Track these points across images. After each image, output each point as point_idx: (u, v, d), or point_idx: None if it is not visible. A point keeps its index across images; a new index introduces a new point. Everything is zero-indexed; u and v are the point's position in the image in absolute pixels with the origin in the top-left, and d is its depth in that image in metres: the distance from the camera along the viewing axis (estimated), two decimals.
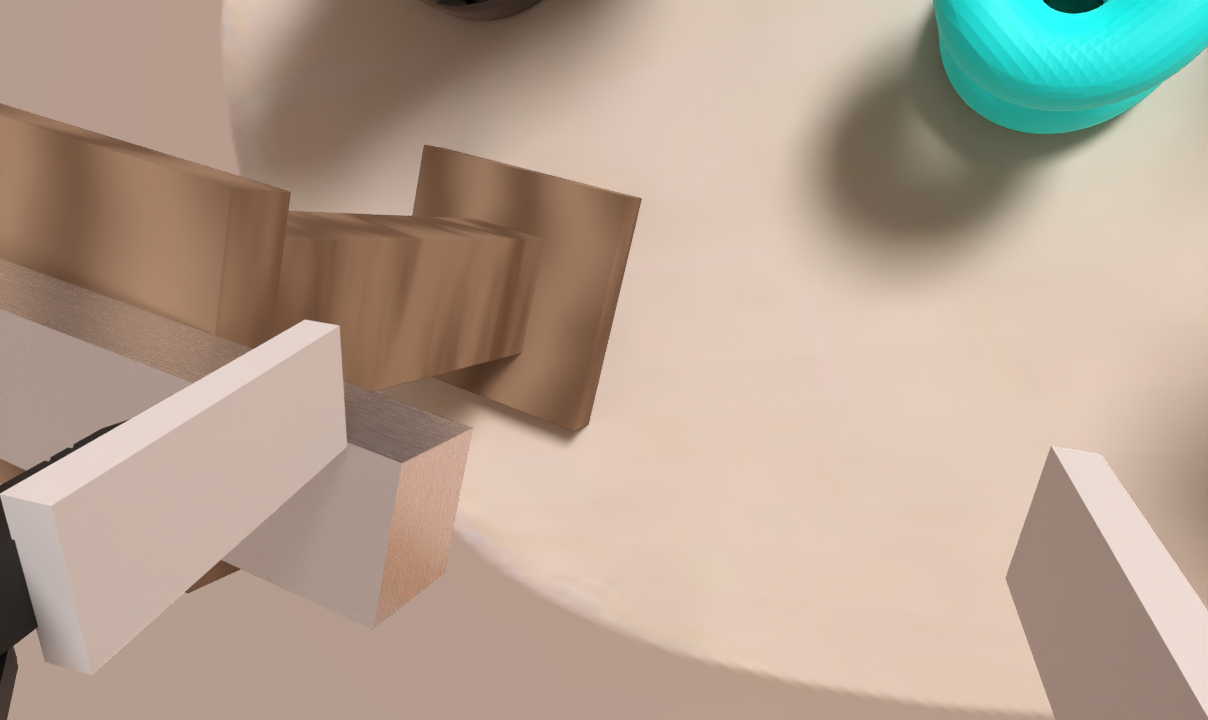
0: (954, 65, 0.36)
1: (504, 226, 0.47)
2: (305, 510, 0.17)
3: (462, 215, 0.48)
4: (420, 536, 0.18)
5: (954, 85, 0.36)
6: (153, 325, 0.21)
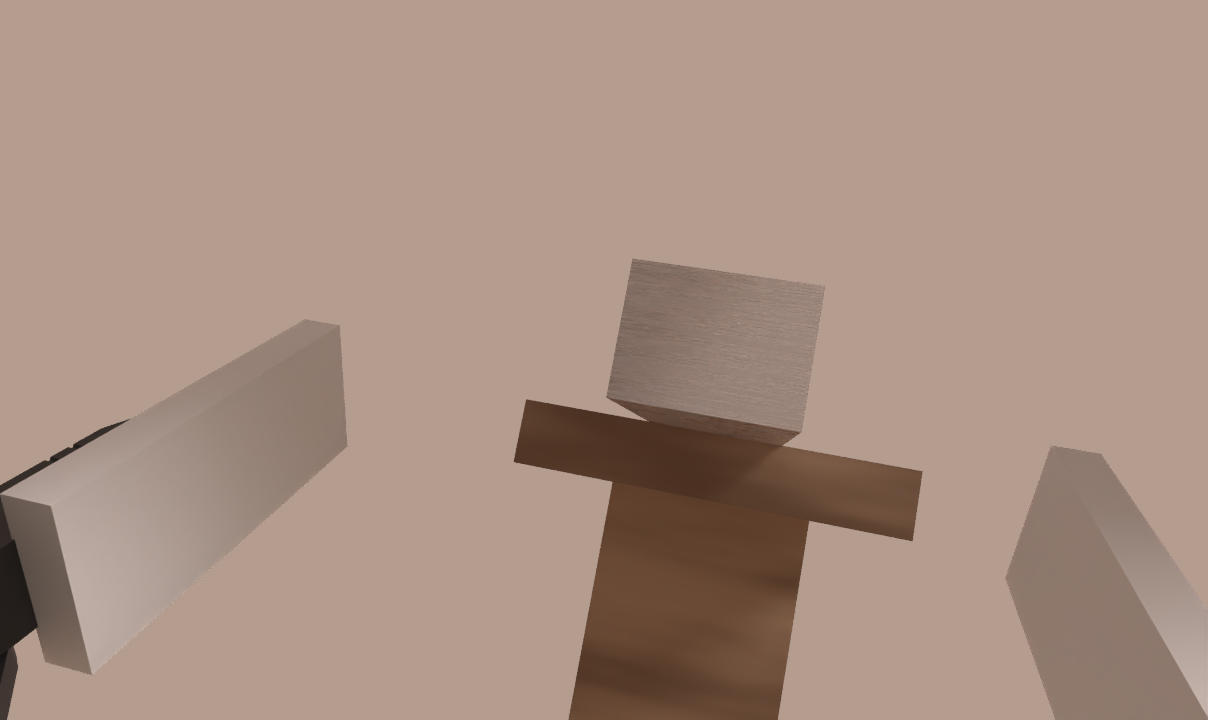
0: None
1: None
2: None
3: None
4: (701, 334, 0.16)
5: None
6: None
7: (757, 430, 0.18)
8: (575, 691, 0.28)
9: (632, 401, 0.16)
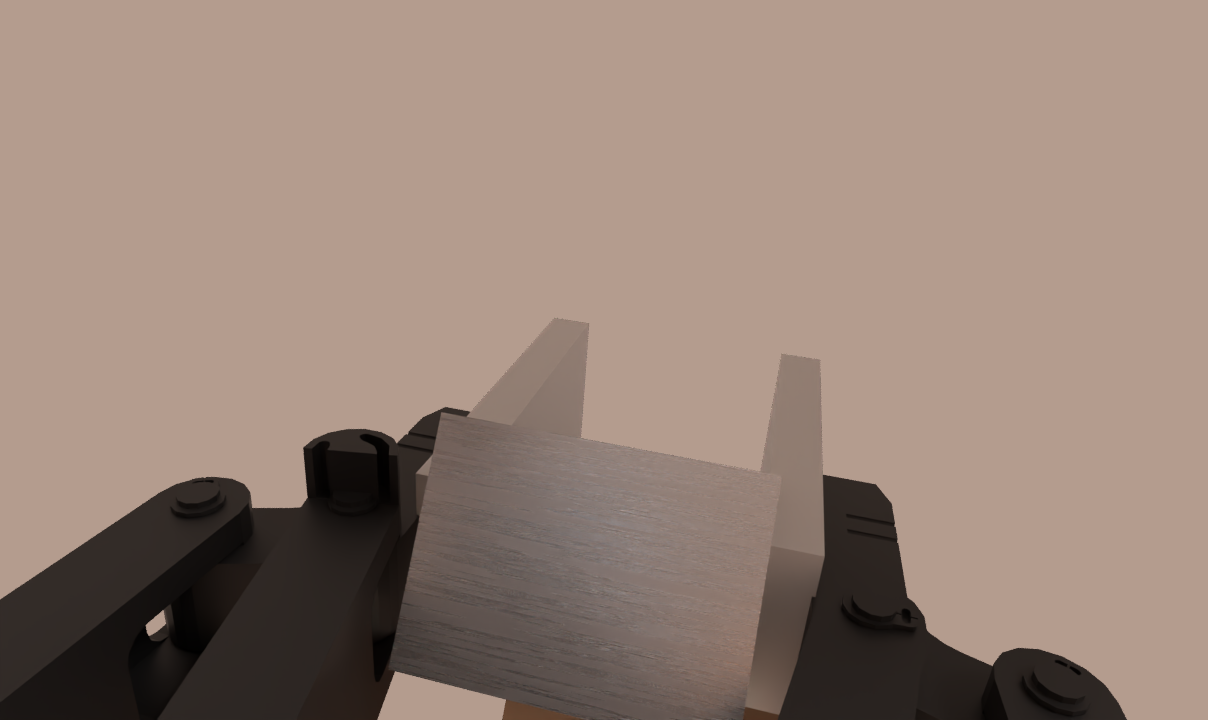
0: None
1: None
2: None
3: None
4: (557, 559, 0.09)
5: None
6: None
7: None
8: None
9: (434, 677, 0.09)
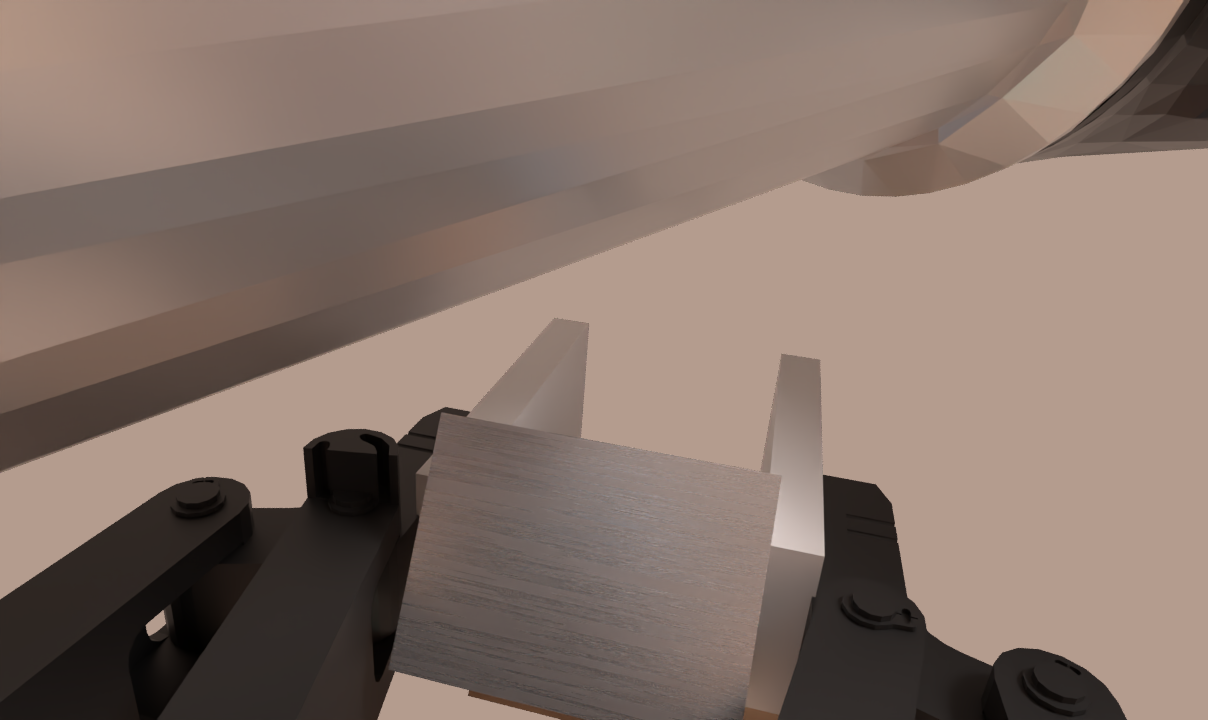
0: None
1: None
2: None
3: None
4: (558, 559, 0.09)
5: None
6: None
7: None
8: None
9: (434, 678, 0.09)
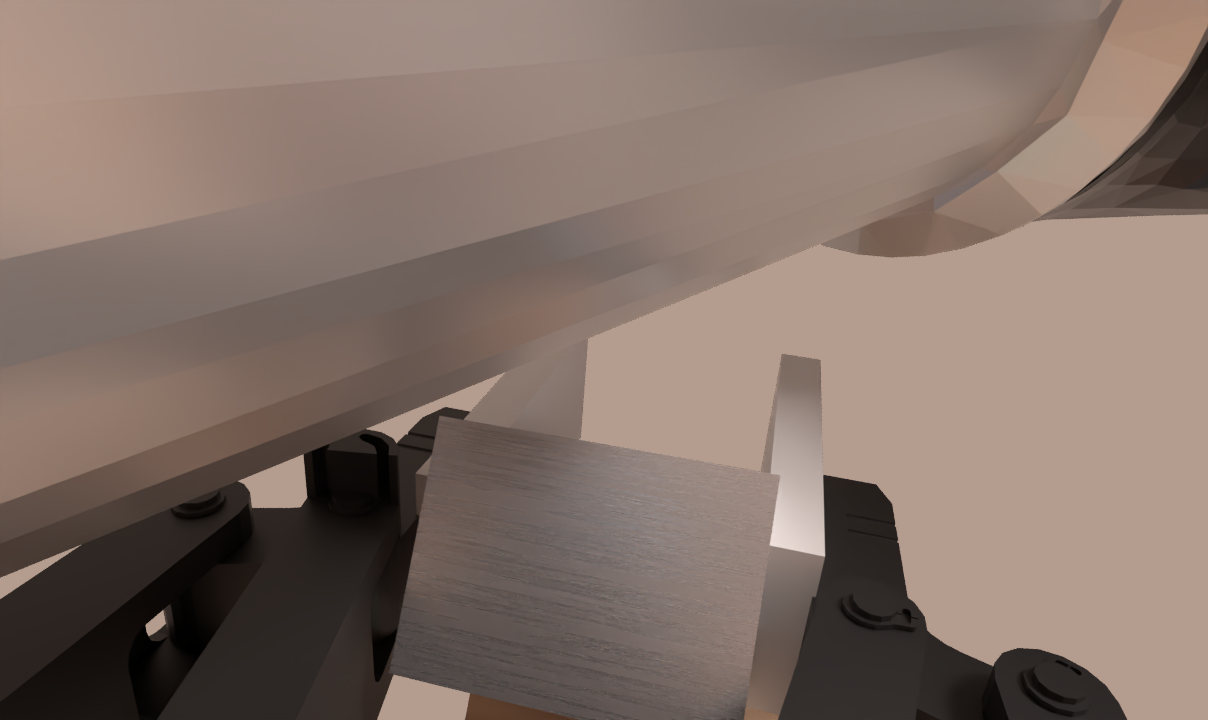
0: None
1: None
2: None
3: None
4: (557, 560, 0.09)
5: None
6: None
7: None
8: None
9: (435, 681, 0.09)
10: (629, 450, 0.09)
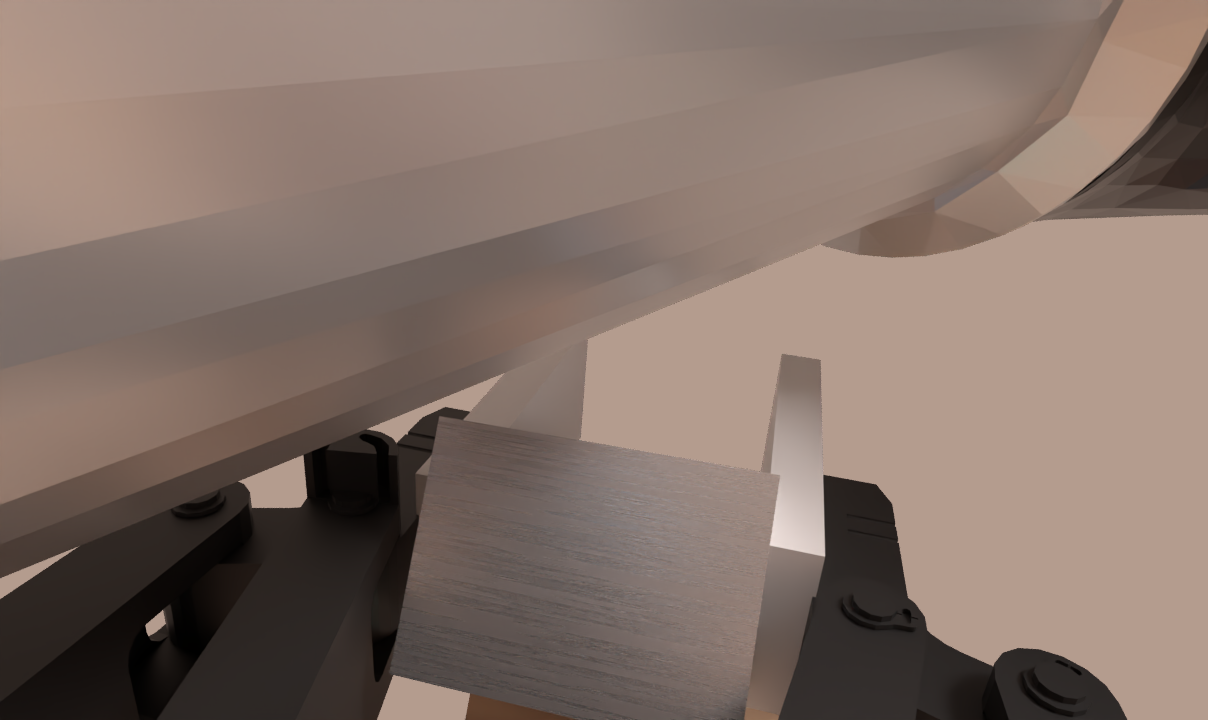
0: None
1: None
2: None
3: None
4: (557, 561, 0.09)
5: None
6: None
7: None
8: None
9: (435, 681, 0.09)
10: (629, 450, 0.09)
